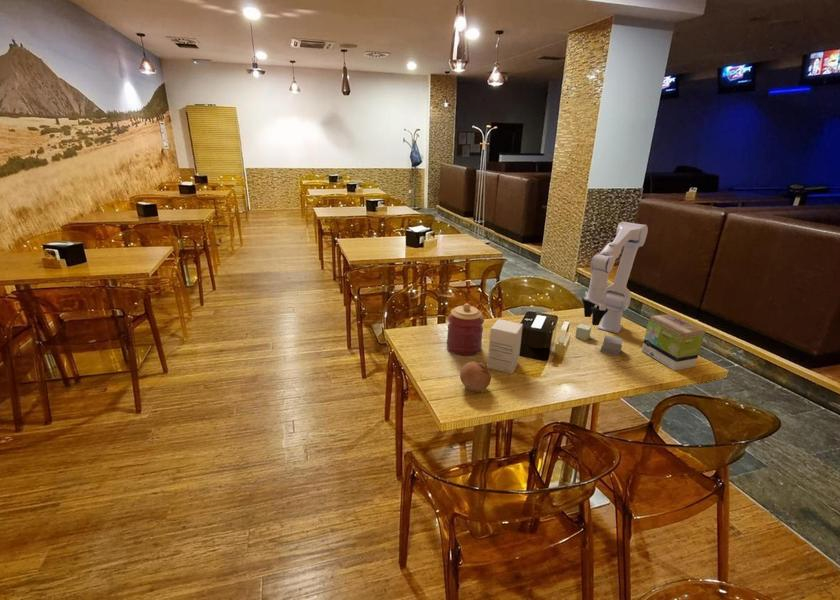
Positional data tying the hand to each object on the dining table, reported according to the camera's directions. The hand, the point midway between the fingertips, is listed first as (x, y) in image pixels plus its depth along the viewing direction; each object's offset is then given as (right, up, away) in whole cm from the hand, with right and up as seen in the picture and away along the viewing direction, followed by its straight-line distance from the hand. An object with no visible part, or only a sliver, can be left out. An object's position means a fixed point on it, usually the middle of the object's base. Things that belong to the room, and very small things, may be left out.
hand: (591, 320), depth 160 cm
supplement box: (-36, -15, -14) cm, 42 cm away
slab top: (+7, -9, -3) cm, 12 cm away
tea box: (+25, -14, -7) cm, 29 cm away
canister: (-49, -10, -3) cm, 50 cm away
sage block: (0, -7, +9) cm, 11 cm away
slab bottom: (+6, -12, -2) cm, 13 cm away
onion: (-48, -20, -29) cm, 59 cm away
